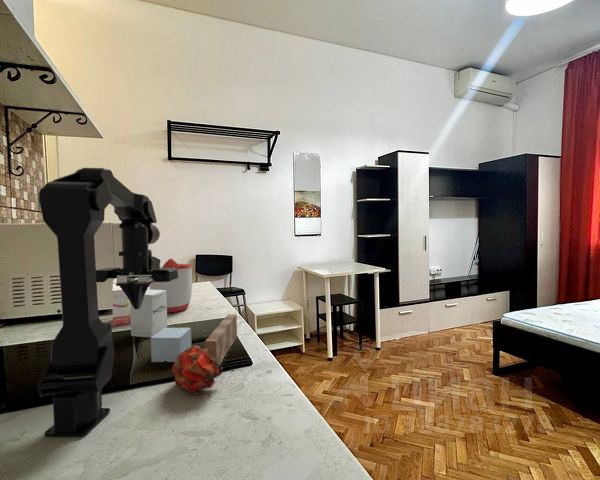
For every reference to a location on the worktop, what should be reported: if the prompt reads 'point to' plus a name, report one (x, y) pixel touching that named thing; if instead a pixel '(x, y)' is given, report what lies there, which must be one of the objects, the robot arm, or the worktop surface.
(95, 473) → the worktop surface
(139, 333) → the supplement box
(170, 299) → the citrus juicer
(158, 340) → the slate block
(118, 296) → the ink cartridge box
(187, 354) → the dragon fruit
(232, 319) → the walnut board
